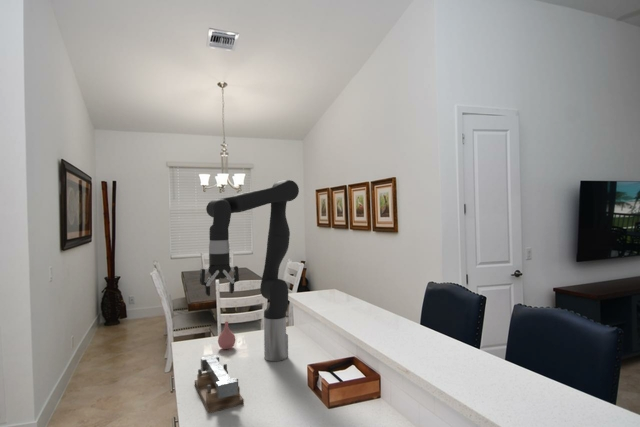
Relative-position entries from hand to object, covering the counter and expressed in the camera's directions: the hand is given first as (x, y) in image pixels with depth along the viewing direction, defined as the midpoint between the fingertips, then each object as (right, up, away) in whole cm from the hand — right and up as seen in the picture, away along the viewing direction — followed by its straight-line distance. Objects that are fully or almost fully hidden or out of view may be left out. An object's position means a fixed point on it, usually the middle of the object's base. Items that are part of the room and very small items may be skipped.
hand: (219, 294), depth 144 cm
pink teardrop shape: (-4, -30, +26) cm, 40 cm away
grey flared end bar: (+4, -26, -16) cm, 31 cm away
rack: (+4, -30, -16) cm, 34 cm away
